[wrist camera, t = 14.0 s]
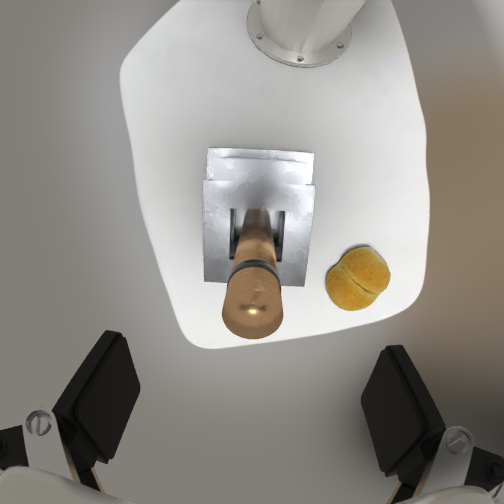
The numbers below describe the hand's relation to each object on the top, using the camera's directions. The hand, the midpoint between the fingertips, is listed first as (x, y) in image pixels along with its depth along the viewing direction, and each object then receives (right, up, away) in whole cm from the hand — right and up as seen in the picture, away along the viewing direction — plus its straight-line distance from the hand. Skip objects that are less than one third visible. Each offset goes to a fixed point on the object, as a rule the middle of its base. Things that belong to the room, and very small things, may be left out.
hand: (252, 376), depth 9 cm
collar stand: (+1, +9, +24) cm, 25 cm away
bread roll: (+14, +1, +27) cm, 30 cm away
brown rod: (+1, +8, +23) cm, 24 cm away
